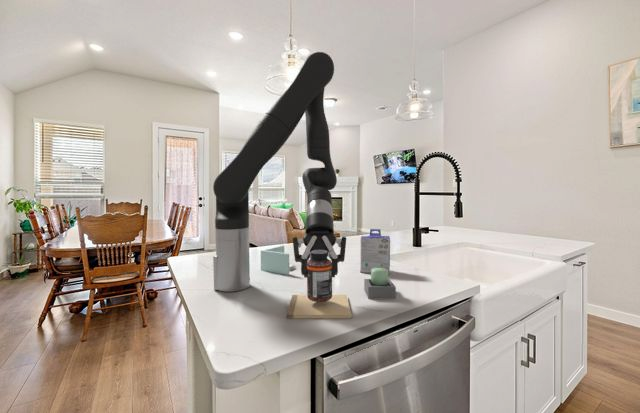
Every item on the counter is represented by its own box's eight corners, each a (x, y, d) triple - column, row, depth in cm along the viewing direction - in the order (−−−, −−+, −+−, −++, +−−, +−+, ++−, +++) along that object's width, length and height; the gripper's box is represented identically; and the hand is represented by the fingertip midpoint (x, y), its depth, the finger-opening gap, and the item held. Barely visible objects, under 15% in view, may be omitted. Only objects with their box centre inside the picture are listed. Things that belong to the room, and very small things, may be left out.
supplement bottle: (306, 294, 71) (306, 249, 71) (330, 293, 72) (330, 248, 71) (307, 303, 65) (307, 254, 65) (333, 302, 66) (333, 253, 65)
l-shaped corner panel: (287, 276, 96) (287, 254, 95) (260, 271, 102) (260, 250, 101) (307, 268, 106) (307, 248, 105) (282, 264, 112) (282, 245, 112)
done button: (372, 285, 75) (372, 272, 75) (369, 280, 79) (369, 267, 79) (389, 285, 75) (389, 272, 75) (385, 280, 79) (385, 267, 79)
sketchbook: (286, 318, 62) (286, 314, 62) (292, 298, 74) (292, 294, 74) (351, 318, 62) (351, 314, 62) (346, 297, 74) (346, 294, 74)
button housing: (368, 298, 74) (368, 287, 74) (364, 289, 81) (364, 278, 81) (395, 298, 74) (395, 287, 73) (389, 289, 81) (389, 278, 80)
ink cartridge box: (389, 270, 101) (390, 229, 100) (390, 274, 95) (390, 231, 95) (361, 268, 103) (361, 228, 102) (360, 273, 97) (360, 230, 97)
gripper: (292, 211, 76) (287, 268, 65) (346, 210, 76) (351, 267, 64) (294, 228, 81) (290, 283, 70) (345, 228, 81) (349, 283, 70)
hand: (319, 275), depth 67 cm, fingers closed on supplement bottle, 6 cm apart
